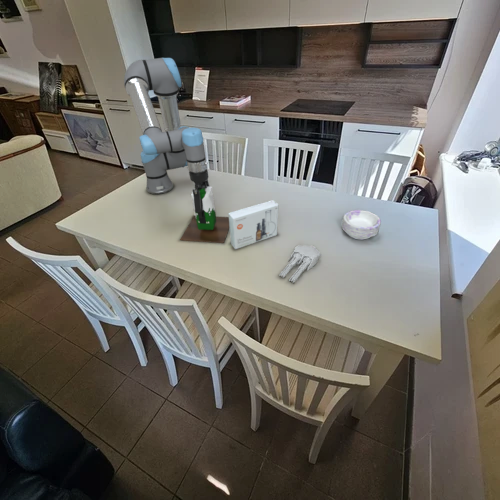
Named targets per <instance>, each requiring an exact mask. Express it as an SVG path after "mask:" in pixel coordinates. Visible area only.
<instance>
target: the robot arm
mask: <svg viewBox="0 0 500 500" xmlns="http://www.w3.org/2000/svg"><path fill="white" fill-rule="evenodd" d="M123 86H124V89H125V92H126V94H127V95H128V96H129V97H130V99H131V103H132V105H133V108H134V112H135V114H136V119H137V120H138V123H139V128H140V130H141V132H142V135H140V136H139V142H140V145H141V148H142V151H141V152H140V159H141V163H142V166H143V169H144V173H145V176H146V191H147V193H148V194H150V195H163V194H167V193H169V192H170V191H172V190H173V189H174V183H173V181H172V179H171V178H170V177H169V175H168V171H170V170H174V169H175V170H177V169H179V168H186V167H187V171H188V175H189V178H190V179H189V180H190V181H191V182H193V183H194V188H195V189H194V188H193V189H192V191H193V195H194V205H195V212H198V216H199V222H200V223H201V224H206V219H205V213H204V210H203V202H202V199H201V198H200V191H199V190H201V189H204V188H207V186H210V183H209V178H210V177H209V169H208V165H209V164H208V163H209V162H208V161H207V157H206V151H205V143H204V141H205V140H204V137H203V131H202V129H200V128H199V127H189V126H186V125H181V118H180V111H179V106H178V98H177V96H178V94H179V92H180V90H179V88H180V89H181V87H182V79H181V75H180V72H179V69H178V66H177V64H176V61H175V60H174V59H173V58H172V57H158V58H148V59H137V60H135V61H133V62H132V63H130V64H129V66H128V67H127V69H126V71H125V73H124V77H123ZM150 91H152V92H153V95H155V96H156V97H157V99H158V104H159V109H160V114H161V120H162V124H163V129H164V131H163V130H162V127H161V125H160V122H159V119H158V115H157V113H156V111H155V107H154V104H153V102H152V100H151V97H150V94H149V92H150ZM195 212H194V213H195Z"/></svg>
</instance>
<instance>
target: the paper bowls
mask: <svg viewBox="0 0 500 500" xmlns="http://www.w3.org/2000/svg"><path fill="white" fill-rule="evenodd" d="M381 224H382V220H381V218H380V217H379V215H377V214H375V213H374V212H371V211H368V210H363V209H354V210H349V211H347V212H346V213H344V214H343V216H342V222H341V228H342V230H343V231H344V232H345V233H346V234H347V236H349V237H350V238H353V239H356V240H368V239H369V238H373V237H375V236H376V235H377V234H378V233H379V231H380V227H381Z"/></svg>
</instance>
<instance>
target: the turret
mask: <svg viewBox="0 0 500 500" xmlns="http://www.w3.org/2000/svg"><path fill="white" fill-rule="evenodd" d="M321 255H322V253H321V252H320V251H319V249H317V248H316V246H314V245H310V244H299V245H296V246H295V247H294V249H293V251H292V253H291V255H290V257H289V259H288V261H287V265H286V266H285V267H284V268H283V270H282V271H280V273H279V275H278V277H282V278H283V279H284V278H285V277H286V276H287V275H288V274H289V273H290V271H291V270H292V269H293V268H294V267H295V266H296V265H299V267H298V268H297V269H296V271H294V273H293V274H292V276H290V278H289V280H288V282H291V283H292V284H294V283H295V282H296V281H297V279H298V278H299V277H300V276H301V274H303V272H304V271H305V270H306V271H309V270H311V269H312V268H313V267H315V266H316V264H317V263H318V261H319V259H320V258H321Z"/></svg>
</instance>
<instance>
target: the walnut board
mask: <svg viewBox="0 0 500 500" xmlns="http://www.w3.org/2000/svg"><path fill="white" fill-rule="evenodd" d="M229 232H230V229H229V216H216V223H215V226H214V229H213V230H201V229H198V226H197V222H196V217H195V215H193V216H192V218H191V220H190V222H189V224H188V225H187V226H186V229H185V230H184V232H183V234H182V235H181V237H180V239H179V240H180V241H184V242H199V243H212V244H213V243H214V244H225V242H226V238H227V236H228V233H229Z"/></svg>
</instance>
